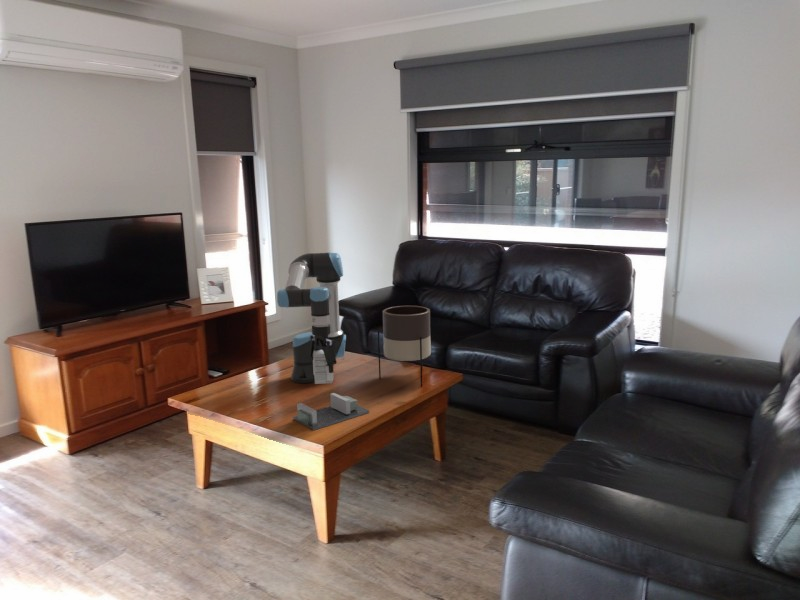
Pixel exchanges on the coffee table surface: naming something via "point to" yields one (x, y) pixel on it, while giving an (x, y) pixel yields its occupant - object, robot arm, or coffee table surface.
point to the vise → (324, 416)
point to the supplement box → (320, 367)
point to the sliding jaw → (343, 403)
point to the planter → (406, 334)
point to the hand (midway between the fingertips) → (323, 377)
